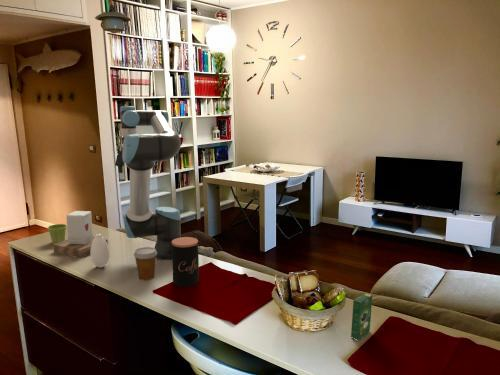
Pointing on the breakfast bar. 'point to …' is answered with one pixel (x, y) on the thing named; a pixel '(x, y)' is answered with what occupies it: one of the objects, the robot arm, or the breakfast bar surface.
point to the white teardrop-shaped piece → (99, 251)
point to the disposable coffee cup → (145, 262)
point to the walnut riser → (74, 248)
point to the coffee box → (361, 316)
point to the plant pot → (57, 232)
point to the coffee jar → (185, 261)
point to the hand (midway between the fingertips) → (131, 177)
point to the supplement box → (79, 227)
